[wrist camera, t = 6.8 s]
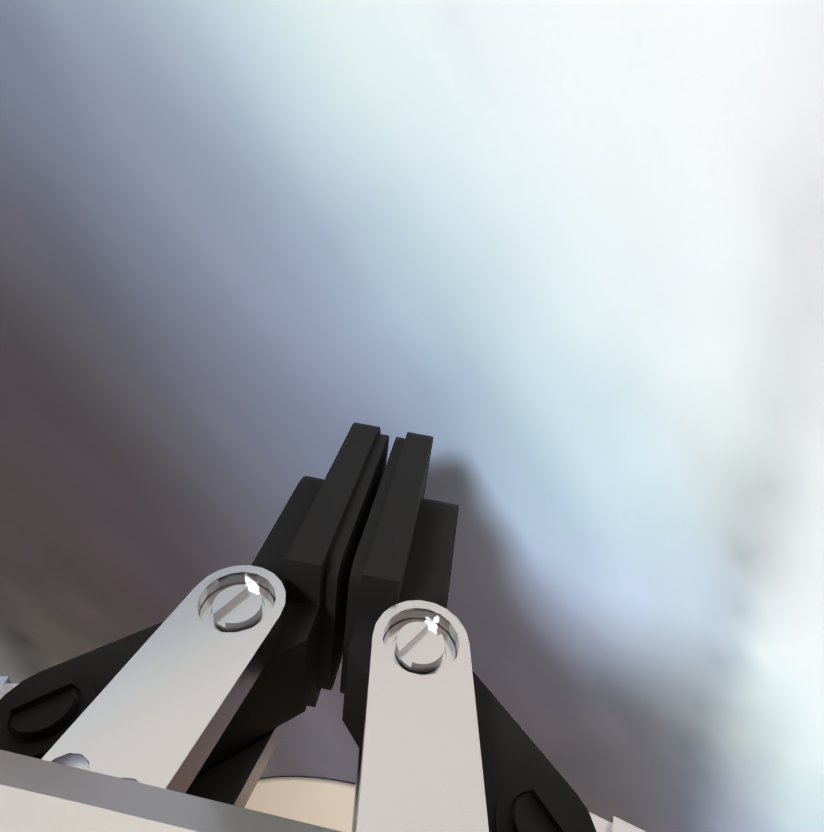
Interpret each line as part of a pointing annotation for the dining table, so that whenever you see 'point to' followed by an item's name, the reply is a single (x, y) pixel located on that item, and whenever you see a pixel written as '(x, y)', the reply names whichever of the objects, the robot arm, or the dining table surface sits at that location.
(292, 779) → the cream disc
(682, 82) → the dining table surface
